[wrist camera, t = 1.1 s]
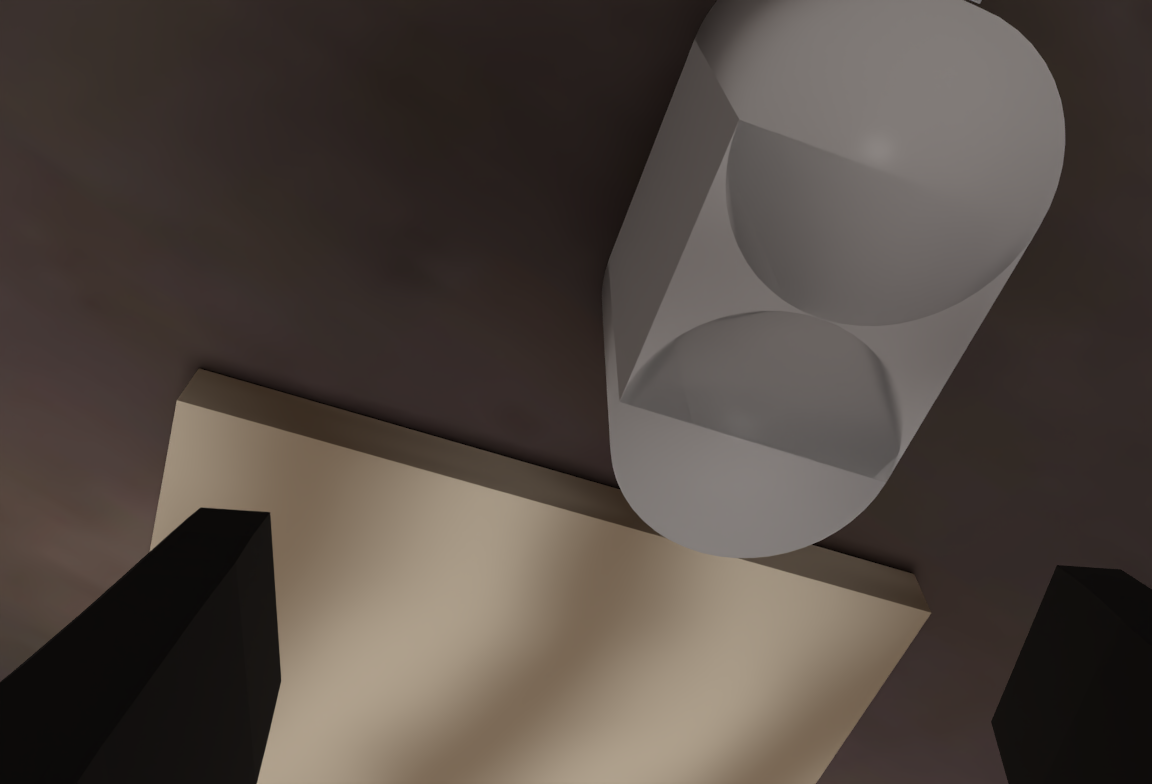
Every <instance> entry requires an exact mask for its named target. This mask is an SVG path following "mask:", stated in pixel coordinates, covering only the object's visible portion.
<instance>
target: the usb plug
mask: <svg viewBox="0 0 1152 784" xmlns="http://www.w3.org/2000/svg"><path fill="white" fill-rule="evenodd" d="M971 1H973V2H976V3H979V4H980V3H981V1H982V0H971ZM1064 150H1065V120H1064V114H1063V108H1062V103H1061V99H1060V96H1059V93H1058V90H1057V86H1056V83H1055V80H1054V79H1053V77H1052V75H1051V73H1050V71H1049V69H1048V67H1047V65H1046V63H1045V61H1044V60H1043V58H1042V57H1041V56H1040V54H1039V53H1038V52H1037V50H1036V49H1035V48H1034V46H1033V45H1032V44H1031V43H1030V42H1029V41H1028V40H1027V39H1026V38H1025V37H1024V36H1023V35H1022V34H1021V33H1020V32H1019V31H1018V30H1017V29H1015V28H1014V27H1013V26H1011V25H1010V24H1008V23H1007V22H1005V21H1004V20H1003V19H1001V18H1000V17H998V16H996V15H994V14H992V13H990V12H988V11H986V10H984V9H982V8H979V7H977V6H975V5H973V4H971V3H969V2H966V1H964V0H717V1H716V3H715V4H714V5H713V6H712V8H711V9H710V11H709V12H708V14H707V16H706V17H705V19H704V20H703V22H702V24H701V26H700V28H699V30H698V33H697V35H696V37H695V39H694V42H693V44H692V47H691V49H690V52H689V55H688V57H687V60H686V62H685V65H684V67H683V70H682V73H681V75H680V78H679V80H678V83H677V85H676V88H675V91H674V93H673V96H672V98H671V101H670V103H669V106H668V109H667V111H666V114H665V116H664V119H663V121H662V124H661V127H660V129H659V132H658V134H657V137H656V139H655V142H654V145H653V147H652V150H651V152H650V155H649V157H648V160H647V163H646V165H645V168H644V170H643V173H642V176H641V178H640V181H639V183H638V186H637V188H636V191H635V194H634V196H633V199H632V201H631V204H630V206H629V209H628V212H627V214H626V217H625V219H624V222H623V224H622V227H621V230H620V232H619V235H618V237H617V240H616V242H615V245H614V248H613V250H612V253H611V255H610V258H609V260H608V264H607V267H606V270H605V273H604V278H603V284H602V316H603V333H604V350H605V366H606V383H607V400H608V417H609V434H610V450H611V458H612V466H613V470H614V473H615V477H616V480H617V483H618V485H619V487H620V489H621V491H622V493H623V495H624V497H625V498H626V500H627V501H628V503H629V505H630V506H631V508H632V509H633V510H634V511H635V512H636V513H637V514H638V516H639V517H640V518H641V519H642V520H643V521H644V522H645V523H646V524H648V525H649V526H650V527H651V528H652V529H654V530H655V531H656V532H658V533H659V534H661V535H662V536H664V537H665V538H667V539H669V540H671V541H673V542H675V543H677V544H679V545H681V546H683V547H686V548H689V549H691V550H694V551H697V552H700V553H705V554H709V555H714V556H720V557H729V558H758V557H768V556H774V555H779V554H784V553H788V552H792V551H795V550H798V549H801V548H804V547H807V546H809V545H812V544H814V543H816V542H819V541H821V540H823V539H825V538H826V537H828V536H830V535H832V534H834V533H835V532H837V531H839V530H840V529H841V528H843V527H844V526H846V525H847V524H848V523H850V522H851V521H853V520H854V519H855V518H856V517H857V516H858V515H859V514H860V513H861V512H863V511H864V510H865V509H866V508H867V507H868V505H869V504H870V503H871V502H872V501H873V500H874V499H875V498H876V496H877V495H878V493H879V492H880V491H881V489H882V488H883V486H884V485H885V483H886V482H887V480H888V478H889V477H890V475H891V473H892V472H893V470H894V468H895V467H896V465H897V463H898V462H899V460H900V458H901V457H902V455H903V453H904V452H905V450H906V448H907V447H908V445H909V443H910V442H911V440H912V438H913V437H914V435H915V433H916V432H917V430H918V428H919V427H920V425H921V423H922V422H923V420H924V418H925V417H926V415H927V413H928V412H929V410H930V408H931V407H932V405H933V403H934V402H935V400H936V398H937V397H938V395H939V393H940V392H941V390H942V388H943V387H944V385H945V383H946V382H947V380H948V378H949V377H950V375H951V373H952V372H953V370H954V368H955V367H956V365H957V363H958V362H959V360H960V358H961V357H962V355H963V353H964V352H965V350H966V348H967V347H968V345H969V343H970V342H971V340H972V338H973V337H974V335H975V333H976V332H977V330H978V328H979V327H980V325H981V323H982V322H983V320H984V318H985V317H986V315H987V313H988V312H989V310H990V308H991V307H992V305H993V303H994V302H995V300H996V298H997V297H998V295H999V293H1000V292H1001V290H1002V288H1003V287H1004V285H1005V283H1006V282H1007V280H1008V278H1009V277H1010V275H1011V273H1012V272H1013V270H1014V268H1015V267H1016V265H1017V263H1018V262H1019V260H1020V258H1021V257H1022V255H1023V253H1024V252H1025V250H1026V248H1027V247H1028V245H1029V243H1030V242H1031V240H1032V238H1033V237H1034V235H1035V233H1036V232H1037V230H1038V228H1039V227H1040V225H1041V223H1042V221H1043V219H1044V217H1045V215H1046V213H1047V211H1048V209H1049V207H1050V205H1051V202H1052V200H1053V197H1054V195H1055V192H1056V189H1057V187H1058V183H1059V179H1060V175H1061V171H1062V167H1063V159H1064Z"/></svg>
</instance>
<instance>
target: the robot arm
mask: <svg viewBox="0 0 1152 784" xmlns="http://www.w3.org/2000/svg"><path fill="white" fill-rule="evenodd" d="M280 684H281V667H280V652H279V637H278V622H277V607H276V591H275V576H274V561H273V546H272V531H271V515H270V512H261V511H246V510H231V509H216V508H202V507H201V508H199V509H198V510H197V511H196V512H194V513H193V514H192V515H191V516H189V517H188V518H187V519H186V520H185V521H184V522H183V523H181V524H180V525H179V526H178V527H177V528H176V529H175V530H173V531H172V532H171V533H170V534H169V535H168V536H167V537H166V538H165V539H163V540H162V541H161V542H160V543H159V544H158V545H157V546H156V547H155V548H153V549H152V550H151V551H150V552H149V553H148V554H147V555H146V556H145V557H144V558H142V559H141V560H140V561H139V562H138V563H137V564H136V565H135V566H134V567H133V568H131V569H130V570H129V571H128V572H127V573H126V574H125V575H124V576H123V577H122V578H120V579H119V580H118V581H117V582H116V583H115V584H114V585H113V586H111V587H110V588H109V589H108V590H107V591H106V592H105V593H104V594H102V595H101V596H100V597H99V598H98V599H97V600H96V601H95V602H94V603H92V604H91V605H90V606H89V607H88V608H87V609H86V610H85V611H83V612H82V613H81V614H80V615H79V616H78V617H76V618H75V619H74V620H73V621H72V622H71V623H69V624H68V625H67V626H66V627H65V628H64V629H62V630H61V631H60V632H59V633H58V634H57V635H55V636H54V637H53V638H52V639H51V640H49V641H48V642H47V643H46V644H45V645H44V646H42V647H41V648H40V649H39V650H38V651H37V652H35V653H34V654H33V655H32V656H31V657H30V658H28V659H27V660H26V661H25V662H24V663H23V664H21V665H20V666H19V667H18V668H17V669H16V670H14V671H13V672H12V673H11V674H10V675H8V676H7V677H6V678H5V679H3V680H2V681H1V682H0V784H257V781H258V777H259V773H260V769H261V765H262V761H263V757H264V753H265V749H266V745H267V741H268V736H269V732H270V728H271V723H272V719H273V715H274V710H275V706H276V702H277V697H278V693H279V689H280ZM991 723H992V726H993V730H994V733H995V737H996V740H997V744H998V748H999V751H1000V755H1001V758H1002V762H1003V766H1004V769H1005V773H1006V776H1007V780H1008V783H1009V784H1152V590H1151V589H1150V588H1149V587H1147V586H1146V585H1144V584H1142V583H1141V582H1139V581H1138V580H1136V579H1135V578H1133V577H1132V576H1130V575H1128V574H1127V573H1125V572H1124V571H1122V570H1118V569H1103V568H1089V567H1074V566H1059V565H1057V567H1056V569H1055V571H1054V574H1053V576H1052V579H1051V581H1050V583H1049V586H1048V588H1047V590H1046V593H1045V595H1044V598H1043V600H1042V602H1041V605H1040V607H1039V609H1038V612H1037V614H1036V617H1035V619H1034V621H1033V624H1032V626H1031V628H1030V631H1029V633H1028V636H1027V638H1026V640H1025V643H1024V645H1023V647H1022V650H1021V652H1020V655H1019V657H1018V659H1017V662H1016V664H1015V667H1014V669H1013V671H1012V674H1011V676H1010V678H1009V681H1008V683H1007V686H1006V688H1005V690H1004V693H1003V695H1002V697H1001V700H1000V702H999V705H998V707H997V709H996V712H995V714H994V716H993V719H992V721H991Z"/></svg>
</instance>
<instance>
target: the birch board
mask: <svg viewBox="0 0 1152 784" xmlns="http://www.w3.org/2000/svg"><path fill="white" fill-rule="evenodd" d="M201 507H202V508H216V509H231V510H246V511H261V512H270V515H271V531H272V546H273V561H274V576H275V591H276V607H277V622H278V637H279V652H280V667H281V684H280V689H279V693H278V697H277V702H276V706H275V710H274V715H273V719H272V723H271V728H270V732H269V736H268V741H267V745H266V749H265V753H264V757H263V761H262V765H261V769H260V773H259V777H258V781H257V784H816V782H817V781H818V779H819V778H820V777H821V775H822V774H823V772H824V771H825V769H826V768H827V766H828V765H829V763H830V762H831V760H832V759H833V757H834V756H835V754H836V753H837V751H838V750H839V748H840V747H841V746H842V744H843V743H844V741H845V740H846V738H847V737H848V735H849V734H850V732H851V731H852V729H853V728H854V726H855V725H856V723H857V722H858V720H859V719H860V717H861V716H862V714H863V713H864V712H865V710H866V709H867V707H868V706H869V704H870V703H871V701H872V700H873V698H874V697H875V695H876V694H877V692H878V691H879V689H880V688H881V686H882V685H883V683H884V682H885V681H886V679H887V678H888V676H889V675H890V673H891V672H892V670H893V669H894V667H895V666H896V664H897V663H898V661H899V660H900V658H901V657H902V655H903V654H904V652H905V651H906V650H907V648H908V647H909V645H910V644H911V642H912V641H913V639H914V638H915V636H916V635H917V633H918V632H919V630H920V629H921V627H922V626H923V624H924V623H925V621H926V620H927V619H928V617H929V616H930V614H931V611H930V609H929V606H928V604H927V602H926V600H925V598H924V595H923V593H922V591H921V589H920V586H919V584H918V582H917V580H916V578H915V575H914V574H912V573H908V572H905V571H901V570H898V569H894V568H891V567H887V566H884V565H881V564H877V563H874V562H870V561H867V560H863V559H860V558H856V557H853V556H849V555H846V554H842V553H839V552H835V551H832V550H828V549H825V548H821V547H818V546H815V545H809V546H807V547H804V548H801V549H798V550H795V551H792V552H788V553H784V554H779V555H774V556H768V557H758V558H729V557H720V556H714V555H709V554H705V553H700V552H697V551H694V550H691V549H689V548H686V547H683V546H681V545H679V544H677V543H675V542H673V541H671V540H669V539H667V538H665V537H664V536H662V535H661V534H659V533H658V532H656V531H655V530H654V529H652V528H651V527H650V526H649V525H648V524H646V523H645V522H644V521H643V520H642V519H641V518H640V517H639V516H638V514H637V513H636V512H635V511H634V510H633V509H632V508H631V506H630V505H629V503H628V501H627V500H626V498H625V497H624V495H623V493H622V491H621V490H620V489H616V488H613V487H610V486H606V485H603V484H599V483H596V482H592V481H589V480H585V479H582V478H578V477H575V476H571V475H568V474H564V473H561V472H557V471H554V470H550V469H547V468H543V467H540V466H537V465H533V464H530V463H526V462H523V461H519V460H516V459H512V458H509V457H505V456H502V455H498V454H495V453H491V452H488V451H484V450H481V449H477V448H474V447H471V446H467V445H464V444H460V443H457V442H453V441H450V440H446V439H443V438H439V437H436V436H432V435H429V434H425V433H422V432H418V431H415V430H411V429H408V428H404V427H401V426H398V425H394V424H391V423H387V422H384V421H380V420H377V419H373V418H370V417H366V416H363V415H359V414H356V413H352V412H349V411H345V410H342V409H338V408H335V407H332V406H328V405H325V404H321V403H318V402H314V401H311V400H307V399H304V398H300V397H297V396H293V395H290V394H286V393H283V392H279V391H276V390H272V389H269V388H265V387H262V386H259V385H255V384H252V383H248V382H245V381H241V380H238V379H234V378H231V377H227V376H224V375H220V374H217V373H213V372H210V371H206V370H203V369H198V370H197V372H196V373H195V375H194V376H193V377H192V379H191V380H190V382H189V383H188V385H187V386H186V388H185V389H184V391H183V392H182V394H181V395H180V396H179V398H178V399H177V403H176V408H175V414H174V419H173V425H172V431H171V436H170V442H169V447H168V453H167V458H166V464H165V470H164V475H163V481H162V486H161V492H160V497H159V503H158V509H157V514H156V520H155V525H154V531H153V536H152V542H151V548H150V551H151V550H152V549H153V548H155V547H156V546H157V545H158V544H159V543H160V542H161V541H162V540H163V539H165V538H166V537H167V536H168V535H169V534H170V533H171V532H172V531H173V530H175V529H176V528H177V527H178V526H179V525H180V524H181V523H183V522H184V521H185V520H186V519H187V518H188V517H189V516H191V515H192V514H193V513H194V512H196V511H197V510H198V509H199V508H201Z"/></svg>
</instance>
